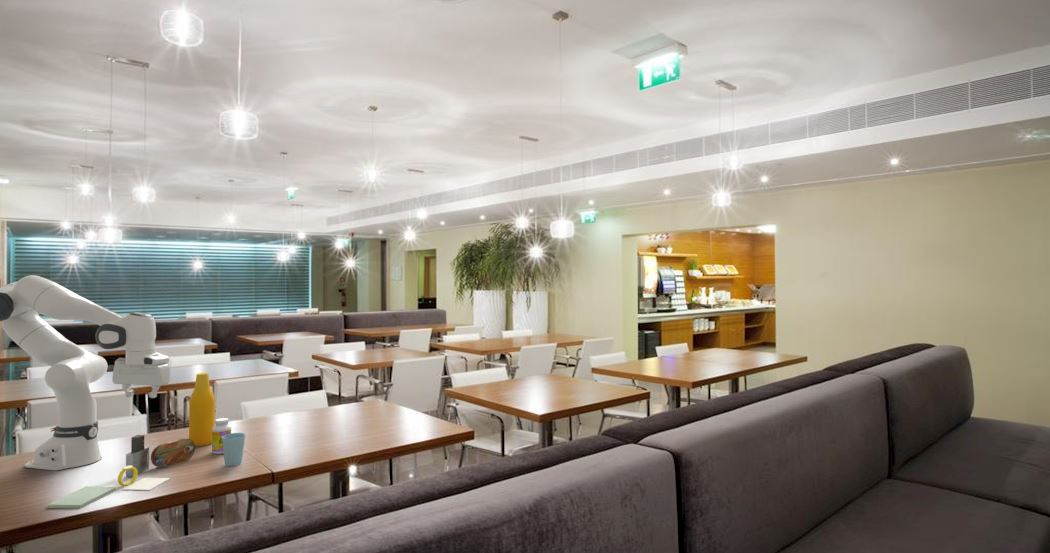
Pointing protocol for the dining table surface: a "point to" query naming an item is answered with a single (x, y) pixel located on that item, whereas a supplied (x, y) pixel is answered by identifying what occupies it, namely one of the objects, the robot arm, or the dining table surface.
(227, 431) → the supplement bottle
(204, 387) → the yellow bottle
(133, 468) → the yellow ring
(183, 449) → the tin
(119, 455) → the dining table surface
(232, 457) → the cup
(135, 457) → the grey upright panel
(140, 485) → the face down mat
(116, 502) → the dining table surface
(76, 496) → the plate
